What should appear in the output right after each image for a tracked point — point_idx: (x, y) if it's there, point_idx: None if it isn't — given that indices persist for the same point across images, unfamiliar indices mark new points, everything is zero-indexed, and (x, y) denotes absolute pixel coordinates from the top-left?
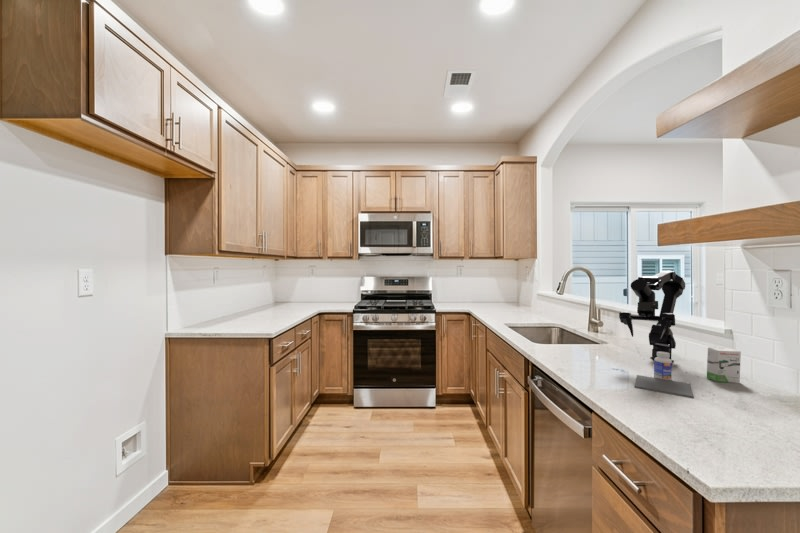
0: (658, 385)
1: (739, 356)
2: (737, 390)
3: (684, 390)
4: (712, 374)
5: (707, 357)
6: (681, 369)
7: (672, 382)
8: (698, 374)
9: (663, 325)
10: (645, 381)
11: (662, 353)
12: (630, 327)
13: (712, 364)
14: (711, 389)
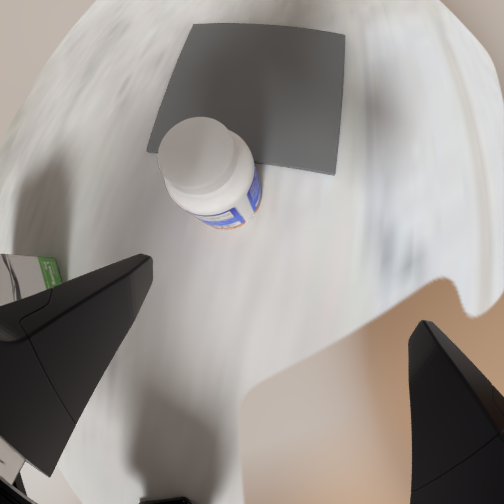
0: (270, 65)
1: None
2: (43, 179)
3: (198, 57)
4: (46, 274)
5: None
6: (122, 408)
7: None
8: None
9: (5, 317)
10: (309, 89)
11: (206, 117)
12: (484, 384)
13: (18, 276)
14: (103, 139)
